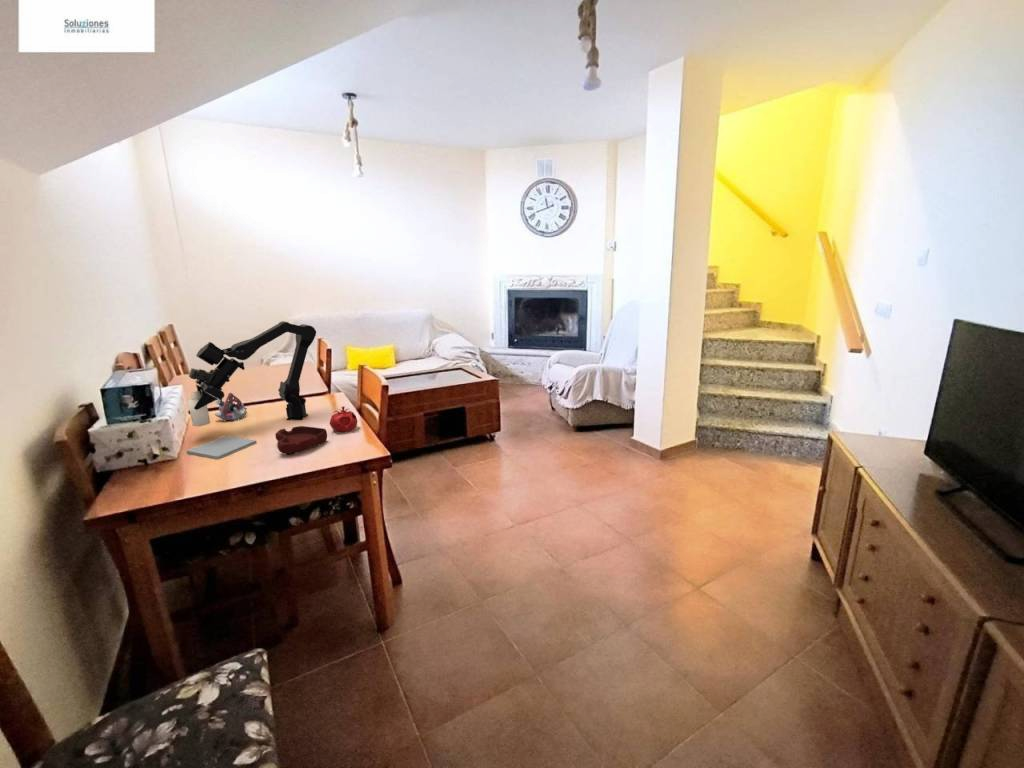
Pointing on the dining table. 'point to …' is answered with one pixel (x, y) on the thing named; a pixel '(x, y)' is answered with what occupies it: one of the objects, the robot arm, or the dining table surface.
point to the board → (221, 447)
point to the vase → (198, 411)
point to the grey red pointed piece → (231, 408)
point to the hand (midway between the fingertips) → (193, 407)
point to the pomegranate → (343, 421)
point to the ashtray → (299, 439)
